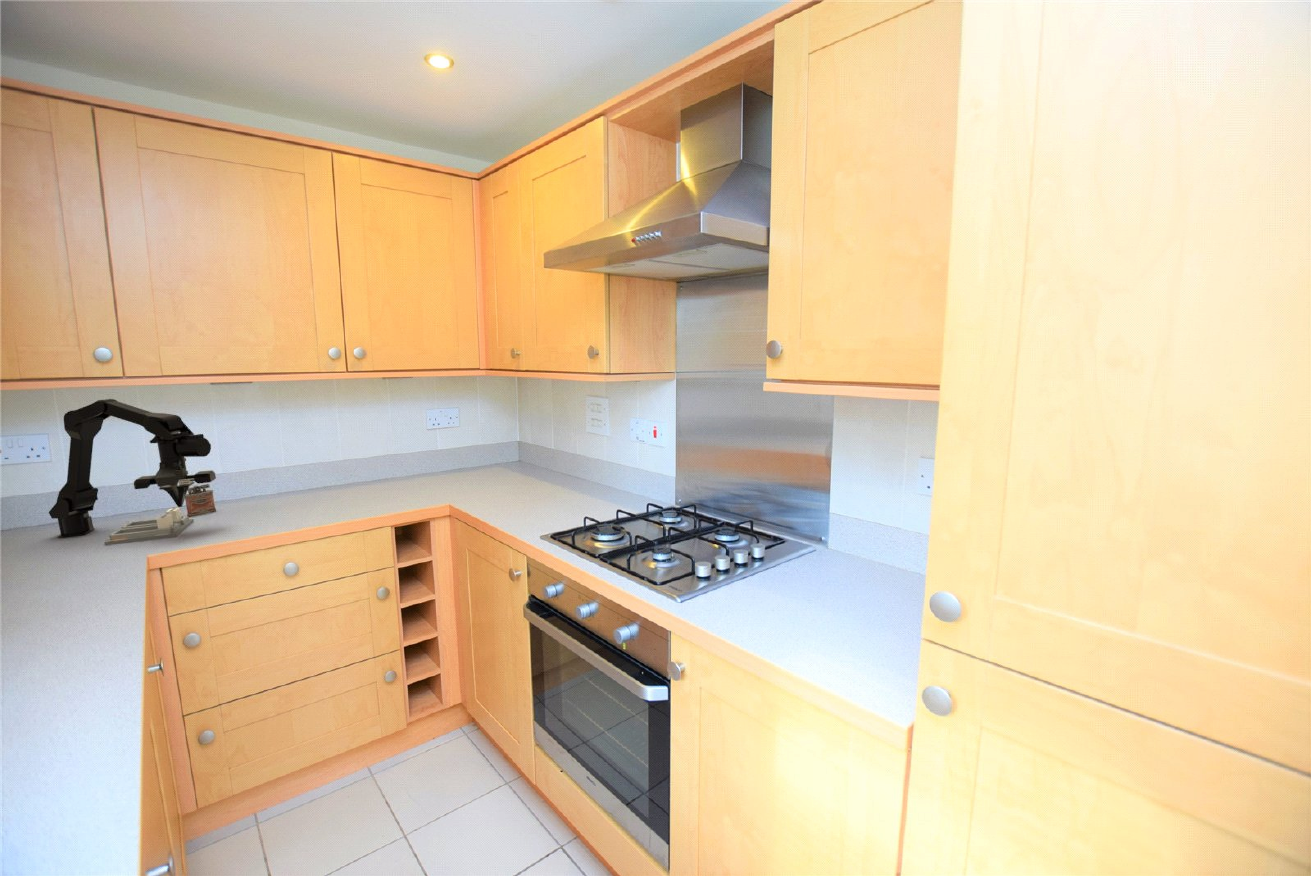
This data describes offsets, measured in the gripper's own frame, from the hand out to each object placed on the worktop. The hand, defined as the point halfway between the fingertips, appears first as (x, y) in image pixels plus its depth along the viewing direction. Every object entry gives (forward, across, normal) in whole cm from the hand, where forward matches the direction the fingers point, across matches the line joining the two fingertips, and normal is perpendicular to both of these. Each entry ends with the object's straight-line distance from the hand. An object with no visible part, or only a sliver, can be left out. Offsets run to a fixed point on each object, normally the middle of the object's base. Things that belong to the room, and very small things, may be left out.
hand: (180, 506), depth 180 cm
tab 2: (+7, -4, +8) cm, 11 cm away
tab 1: (+7, -4, 0) cm, 8 cm away
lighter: (+8, -1, +22) cm, 23 cm away
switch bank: (+8, -9, +4) cm, 13 cm away
